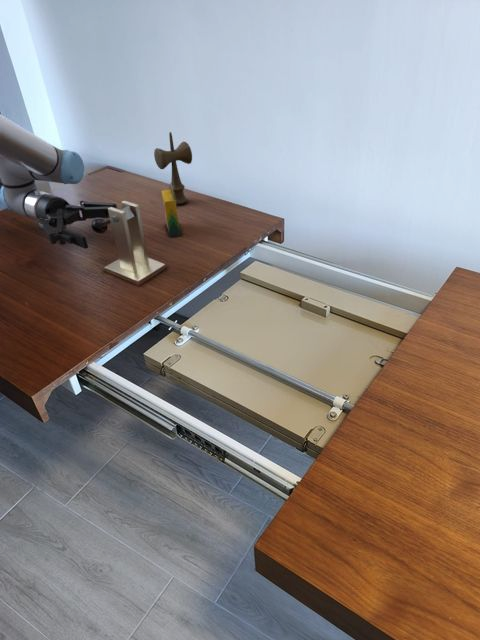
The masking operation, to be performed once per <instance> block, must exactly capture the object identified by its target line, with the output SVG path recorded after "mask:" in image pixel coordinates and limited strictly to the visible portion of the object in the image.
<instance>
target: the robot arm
mask: <svg viewBox="0 0 480 640" xmlns="http://www.w3.org/2000/svg"><path fill="white" fill-rule="evenodd" d="M84 173H85V163H84V160H83V158H82V157H81V155H80V154H79V153H78V152H76V151H72V150H69V149H61V148H58V147H56V146H54V145H53V144H52V143H50V142H47V141H46V140H44V139H42V138H41V137H39V136H37V135H36V134H34V133H32V132H31V131H29V130H28V129H26V128H24V127H22V126H21V125H19V124H18V123H16V122H15V121H13V120H10V118H8V117H6V116H4V115H3V114H1V113H0V180H1V183H2V186H1V188H0V202H1V205H3V206H4V207H5V208H6V209H8V210H10V211H11V212H13V213H15V214H16V215H19V216H20V215H21V216H24V217H27V218H28V219H29V218H30V219H32V220H34V221H36V222H38V225H39V228H40V230H41V231H43V232H44V233H45V235H46V237H47V238H48V240H49V242H50V244H51V245H56V244H57V242H59V245H60V246H64V245H66V244H69V245H75V246H78V247H80V248H83V249H85V250H86V249H87V248H89V246H88V242H87V239H86V236H85V235H82V234H80V233H77V232H74V231H72V230H70V229H67V226H68V225H69V226H70V225H73V223H76V222H85V221H87V220H88V219H92V220H93V219H95V218H103V219H110V217H109V212H108V208H110V207H113V208H116V209H118V206H117V203H113V202H97V201H88V200H79V204H78V205H76V204H71V203H69V202H68V201H67V200H66V199H65V198H63V197H60V196H58V195H55V194H52V193H48V192H46V191H43V190H40V189H38V187H37V184H36V181H39V182H49V183H55V184H56V183H57V184H63V185H78V184H79V183H81V181H82V180H83V178H84V175H85V174H84ZM52 228H56V232H54V230H53V229H52Z"/></svg>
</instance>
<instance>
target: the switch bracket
mask: <svg viewBox="0 0 480 640" xmlns="http://www.w3.org/2000/svg"><path fill="white" fill-rule="evenodd" d="M128 206H129V207H130V209H131V210H132V212H133V214H134V217H133V218H131V219H129V220H127V218H126V213H125V211H122V209H124V208H126V207H128ZM121 207H122V209H120V208H119V209H118V208H117V209H116V208H113V207H110V208H108V212H109V217H110V218H109V219H110V221H111V224H110V226H111V229H112V230H111V231H112V235H113V239H114V244H115V248H116V252H117V258H118V259H117V260H114V261H113V262H111V263H109V264H107V265H105V266H103V267H104V272H106V273H108V274H111V275H112V276H115V277H117V278H120V279H122V280H124V281H127V282H129V283H131V284H134V285H136V286H141V285H143V284H144V283H146V282H147V281H149V280H151V279H153V277H155V276H157V275H158V274H159V273H161V272H163V271H165V270H166V269H167V266H166V265H167V264H166V263H163V262H161V261H158V260H155V259H153V258H150V257H149V255H148V250H147V244H146V237H145V233H144V232H145V231H144V226H143V221H142V215H141V209H140V204H137V203H134V202H130V201H127V200H122V201H121Z"/></svg>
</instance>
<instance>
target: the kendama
mask: <svg viewBox="0 0 480 640" xmlns="http://www.w3.org/2000/svg"><path fill="white" fill-rule="evenodd" d="M168 134H169V136H168V137H169V138H168V139H169V148H170V150H165V149H161V148H159V147H156V148H155V149H154V152H153V156H154V161H155V164H156V165H157V167H158V168H159V169H160V170H164V169H166V168H167V167H168V166H169V165H170V164H171V179H170V180H171V181H170V183H171V184H169V185H168V190H172V189H173V192H174V195H175V200H176V206H178V205H184V204H186V203H187V202H188V198H187V196H185V193H184V191H185V185H184V184H183V182H182V180H181V177H180V173H179V169H178V164H177V161H180V162H182V163H183V164H187V165H190V164H192V162H193V153H192V152H193V151H192V148H191V147H190V145H189V143H188V142H187V141H182V142H181V143H179V144H178V146H177V147H176V148H175V146H174V139H173V134H172V132H171V131H169V132H168ZM171 185H172V189H171Z"/></svg>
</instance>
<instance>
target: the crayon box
mask: <svg viewBox="0 0 480 640" xmlns="http://www.w3.org/2000/svg"><path fill="white" fill-rule="evenodd" d="M169 183H170V184H169V185H171V182H169ZM171 189H172V185H171ZM161 198H162V204H163V210H164V218H165V224H166V228H167V231H168V236H169V237H171V238H172V237H178V236H181V233H180V232H181V231H180V225H179V223H180V222H179V216H178V209H177V205H176V200H175V195H174V192H173V189H172V190H170V189H164V190H161Z"/></svg>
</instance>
